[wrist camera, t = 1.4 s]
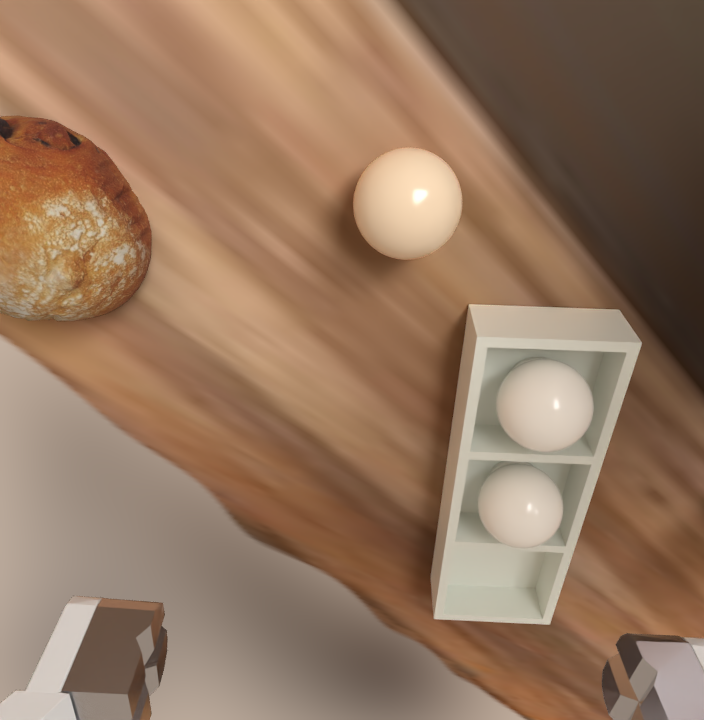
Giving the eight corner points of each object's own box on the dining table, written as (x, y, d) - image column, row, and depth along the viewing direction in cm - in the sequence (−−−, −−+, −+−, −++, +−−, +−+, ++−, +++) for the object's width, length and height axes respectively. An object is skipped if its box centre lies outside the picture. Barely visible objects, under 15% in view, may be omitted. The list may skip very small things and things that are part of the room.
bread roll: (30, 256, 37) (-7, 368, 33) (-104, 110, 28) (-178, 237, 24) (185, 232, 36) (167, 346, 31) (93, 73, 27) (52, 199, 23)
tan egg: (462, 137, 29) (475, 166, 24) (450, 237, 31) (461, 279, 27) (356, 134, 29) (352, 162, 25) (354, 234, 31) (349, 275, 27)
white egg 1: (587, 343, 33) (617, 397, 29) (568, 414, 36) (593, 473, 32) (496, 339, 33) (513, 393, 29) (483, 411, 36) (497, 469, 32)
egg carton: (619, 309, 33) (642, 342, 30) (538, 582, 46) (549, 624, 43) (468, 304, 33) (477, 336, 30) (430, 577, 46) (433, 619, 43)
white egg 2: (559, 448, 37) (582, 509, 33) (543, 505, 40) (562, 568, 36) (478, 444, 38) (490, 504, 33) (468, 502, 40) (478, 564, 36)
